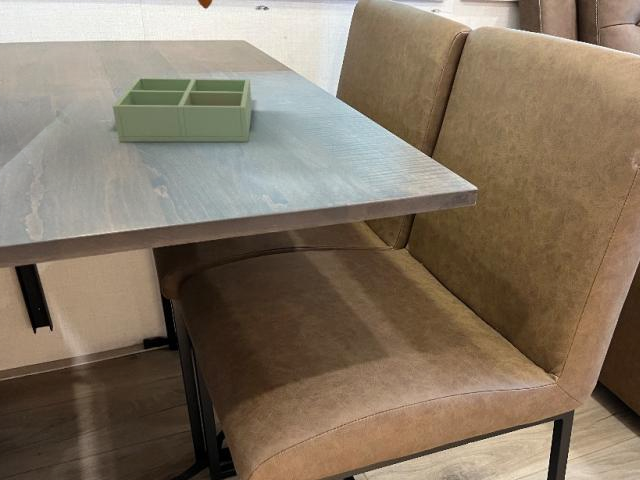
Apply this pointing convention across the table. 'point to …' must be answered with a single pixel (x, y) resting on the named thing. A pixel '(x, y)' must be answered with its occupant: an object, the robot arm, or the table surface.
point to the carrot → (205, 3)
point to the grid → (184, 110)
